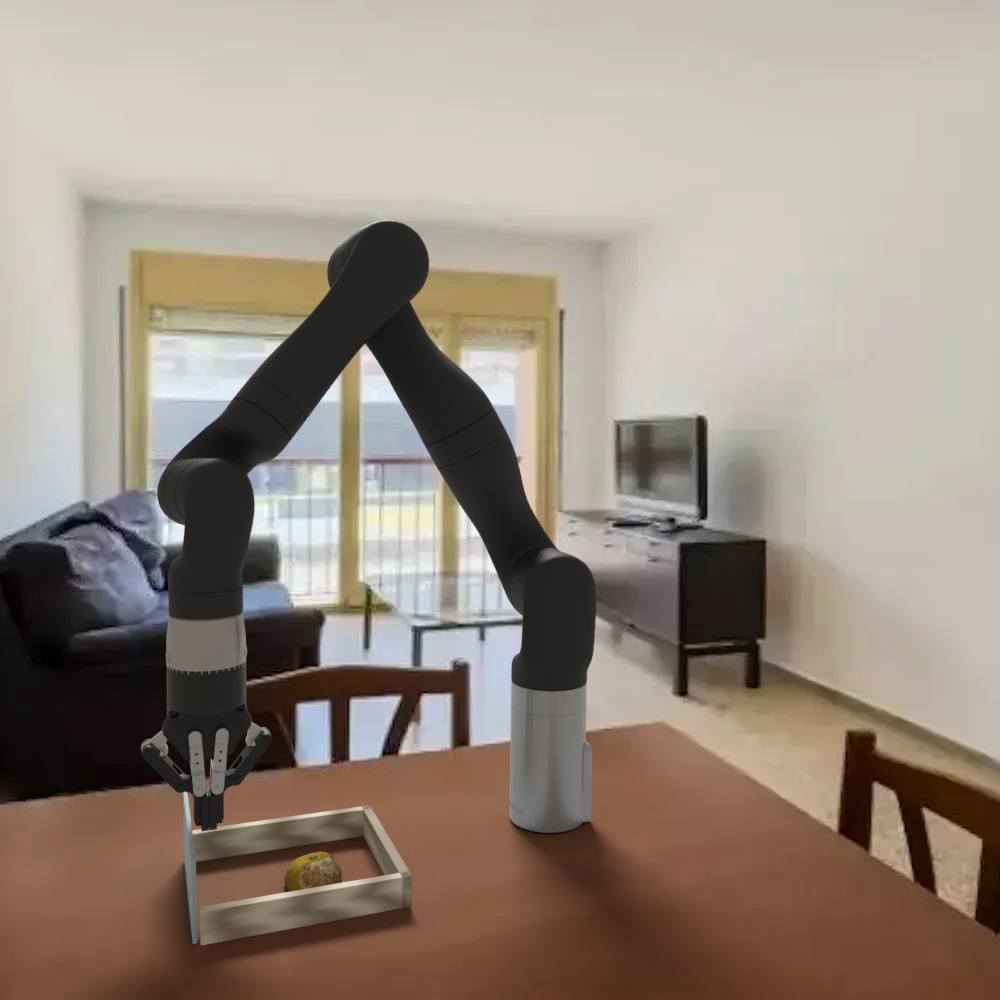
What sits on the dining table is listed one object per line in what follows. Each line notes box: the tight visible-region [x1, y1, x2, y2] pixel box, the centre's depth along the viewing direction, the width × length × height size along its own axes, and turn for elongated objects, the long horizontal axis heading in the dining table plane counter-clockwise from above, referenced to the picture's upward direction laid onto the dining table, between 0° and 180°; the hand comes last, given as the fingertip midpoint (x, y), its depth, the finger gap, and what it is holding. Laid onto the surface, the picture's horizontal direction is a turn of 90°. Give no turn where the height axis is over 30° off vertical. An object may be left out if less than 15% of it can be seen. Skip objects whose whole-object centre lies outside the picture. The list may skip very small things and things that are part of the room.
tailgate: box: [182, 792, 198, 945], centre depth 92 cm, size 1×17×8 cm, turn 22°
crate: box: [192, 804, 413, 946], centre depth 96 cm, size 20×18×4 cm
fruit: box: [283, 851, 347, 892], centre depth 94 cm, size 8×8×4 cm
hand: (208, 827), depth 92 cm, fingers closed
